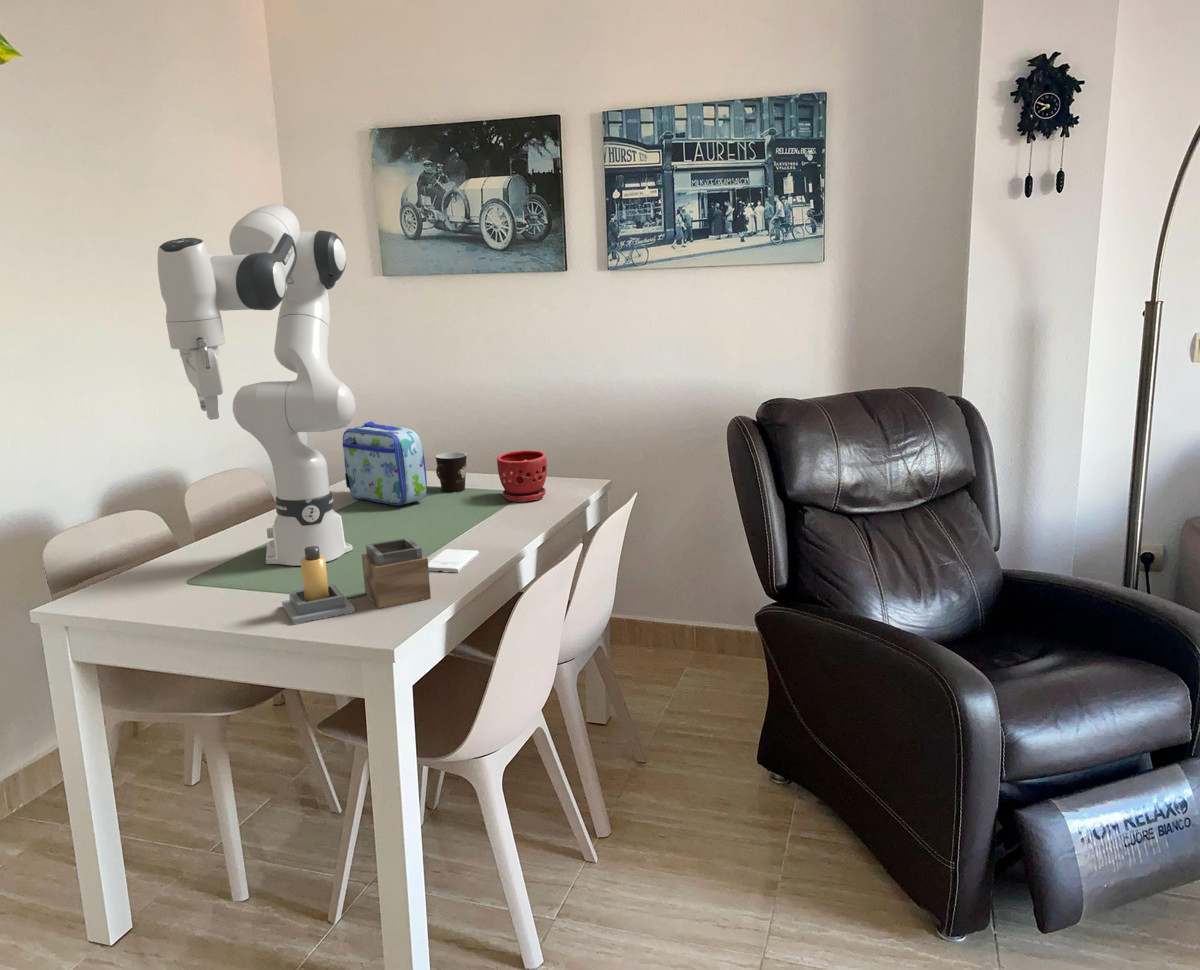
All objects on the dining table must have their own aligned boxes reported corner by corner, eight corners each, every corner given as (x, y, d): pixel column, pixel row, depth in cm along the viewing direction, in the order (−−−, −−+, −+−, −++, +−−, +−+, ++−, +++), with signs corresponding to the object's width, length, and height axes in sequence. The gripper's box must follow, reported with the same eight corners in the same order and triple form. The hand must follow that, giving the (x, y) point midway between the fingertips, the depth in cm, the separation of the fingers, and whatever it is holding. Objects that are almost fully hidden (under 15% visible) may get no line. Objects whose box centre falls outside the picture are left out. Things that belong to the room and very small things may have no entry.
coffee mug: (457, 485, 278) (455, 450, 275) (474, 489, 271) (472, 454, 269) (422, 492, 270) (420, 457, 268) (440, 497, 264) (437, 461, 262)
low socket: (282, 606, 183) (280, 591, 183) (340, 595, 188) (338, 580, 188) (294, 624, 174) (292, 608, 173) (354, 612, 179) (353, 597, 178)
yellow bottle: (303, 603, 182) (297, 547, 179) (326, 598, 184) (321, 543, 181) (308, 610, 178) (302, 553, 176) (332, 605, 180) (326, 549, 178)
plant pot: (502, 493, 267) (500, 450, 264) (550, 492, 266) (548, 449, 263) (496, 505, 254) (493, 460, 251) (545, 504, 253) (543, 459, 250)
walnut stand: (365, 593, 189) (360, 544, 187) (414, 583, 194) (410, 536, 191) (379, 608, 181) (374, 557, 178) (430, 598, 185) (426, 548, 183)
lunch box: (341, 497, 267) (334, 423, 262) (373, 490, 275) (367, 417, 270) (399, 511, 250) (392, 432, 245) (432, 503, 258) (426, 425, 253)
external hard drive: (479, 557, 212) (458, 575, 200) (444, 555, 214) (421, 573, 202) (478, 550, 211) (458, 568, 200) (443, 548, 213) (421, 566, 201)
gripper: (224, 339, 159) (237, 421, 163) (208, 328, 176) (221, 403, 180) (183, 343, 156) (197, 427, 160) (171, 332, 174) (184, 408, 178)
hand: (210, 414), depth 170 cm, fingers open, 8 cm apart
